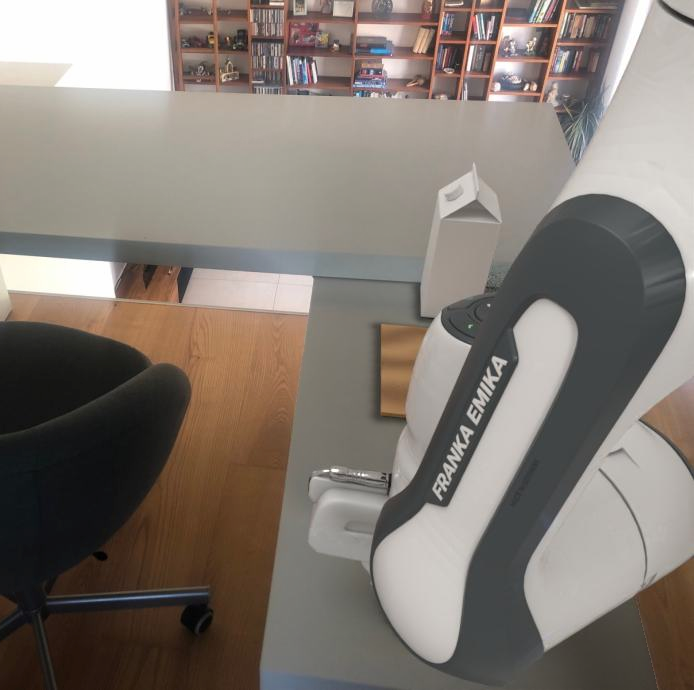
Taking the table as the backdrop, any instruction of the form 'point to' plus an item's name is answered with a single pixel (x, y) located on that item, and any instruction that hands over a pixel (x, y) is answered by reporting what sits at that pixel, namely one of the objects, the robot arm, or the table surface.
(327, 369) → the table surface
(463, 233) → the milk carton
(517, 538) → the robot arm
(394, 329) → the wooden board
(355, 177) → the table surface
